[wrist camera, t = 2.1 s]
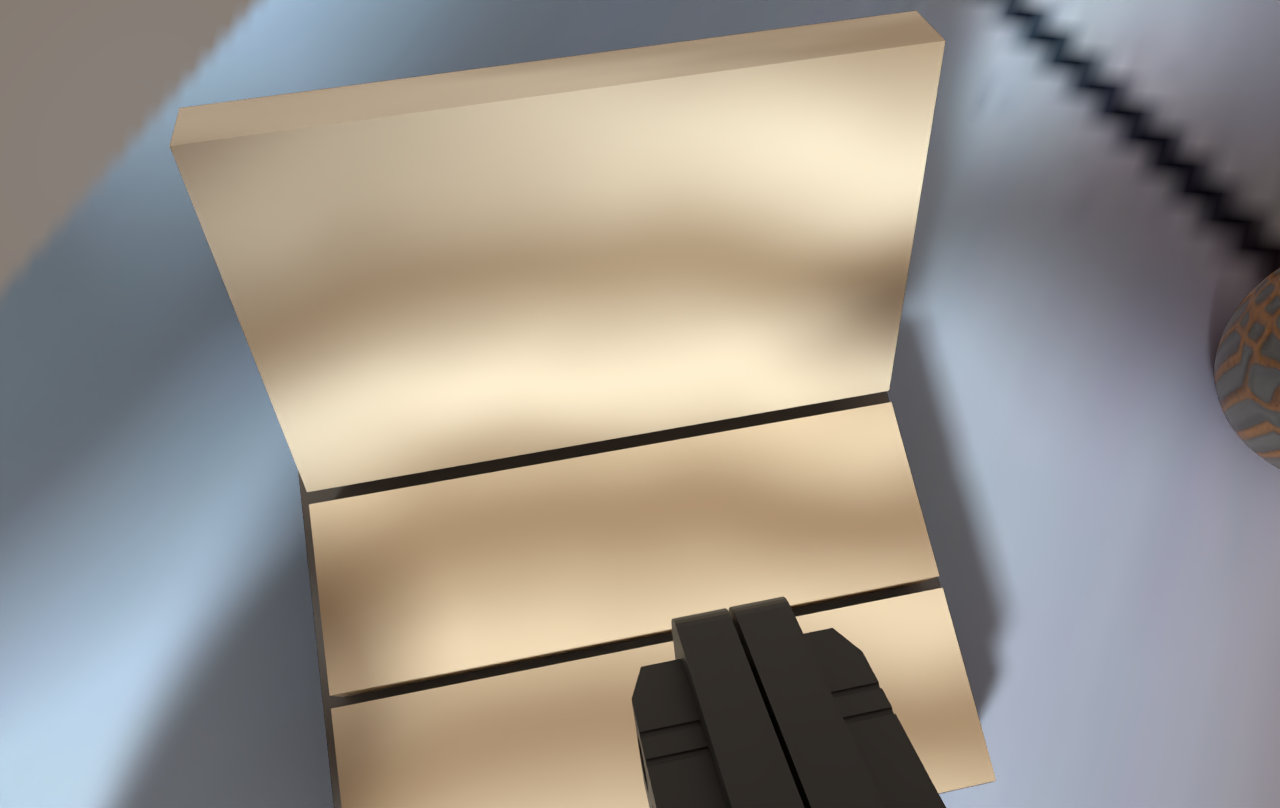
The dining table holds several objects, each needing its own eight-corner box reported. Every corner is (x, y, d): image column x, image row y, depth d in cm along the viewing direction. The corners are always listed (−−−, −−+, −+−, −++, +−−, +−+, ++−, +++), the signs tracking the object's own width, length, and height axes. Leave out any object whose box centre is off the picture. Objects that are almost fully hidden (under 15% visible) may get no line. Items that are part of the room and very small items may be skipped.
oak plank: (868, 354, 28) (888, 391, 27) (309, 449, 27) (307, 492, 26) (916, 10, 22) (945, 40, 21) (179, 108, 20) (169, 146, 19)
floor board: (952, 776, 29) (1018, 784, 25) (370, 903, 27) (332, 937, 23) (785, 146, 34) (815, 64, 30) (293, 218, 33) (251, 141, 28)
